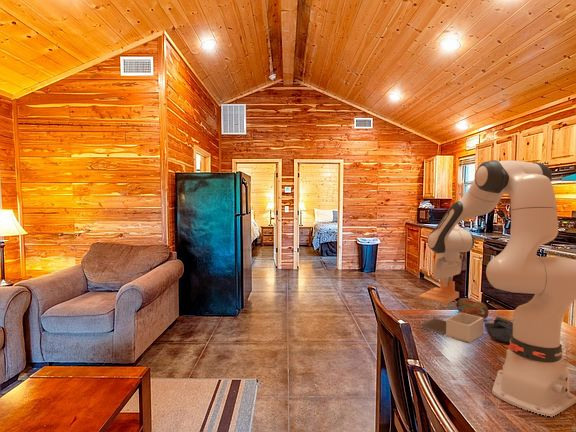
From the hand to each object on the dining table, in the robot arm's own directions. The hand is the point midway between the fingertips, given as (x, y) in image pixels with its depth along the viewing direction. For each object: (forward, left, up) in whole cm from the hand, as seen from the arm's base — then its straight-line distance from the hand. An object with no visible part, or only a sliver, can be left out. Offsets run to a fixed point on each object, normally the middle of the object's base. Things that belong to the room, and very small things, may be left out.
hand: (447, 286), depth 145 cm
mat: (-9, 0, -17) cm, 19 cm away
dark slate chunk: (+4, -23, -18) cm, 29 cm away
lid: (-8, 0, -5) cm, 9 cm away
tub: (-10, -12, -17) cm, 23 cm away
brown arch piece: (+16, -5, -17) cm, 24 cm away
